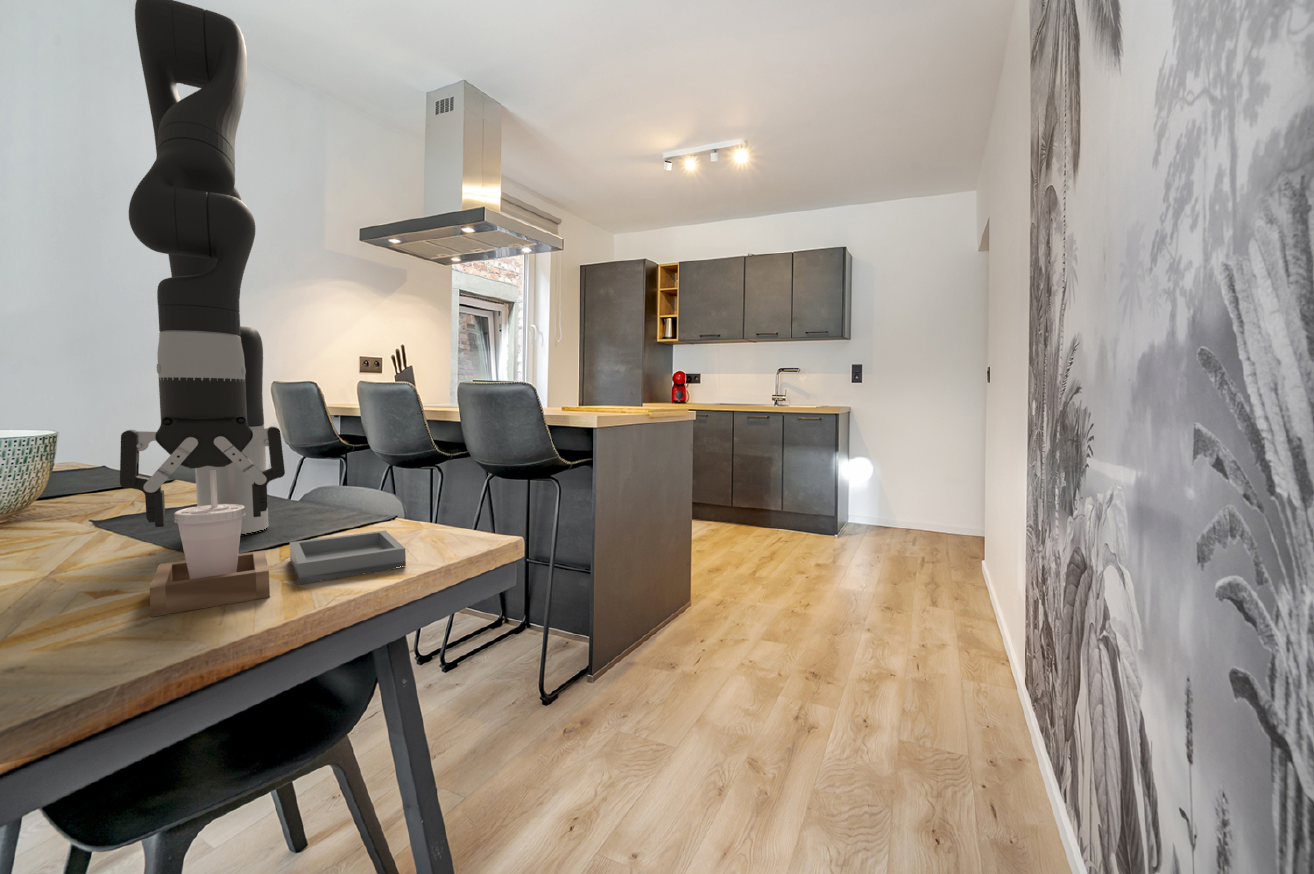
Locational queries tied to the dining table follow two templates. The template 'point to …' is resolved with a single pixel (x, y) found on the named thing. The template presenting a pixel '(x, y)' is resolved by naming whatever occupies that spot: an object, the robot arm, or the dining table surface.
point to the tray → (345, 556)
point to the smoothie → (211, 535)
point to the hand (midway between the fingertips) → (210, 520)
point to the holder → (208, 585)
